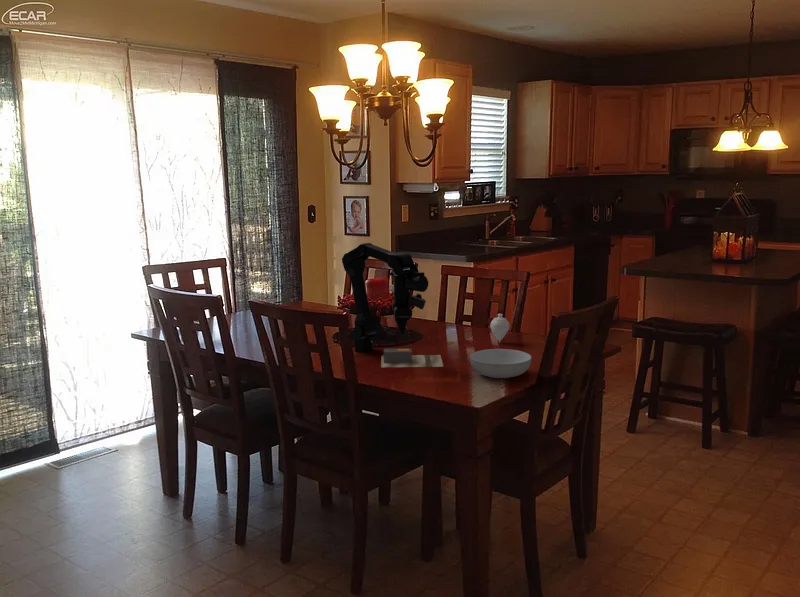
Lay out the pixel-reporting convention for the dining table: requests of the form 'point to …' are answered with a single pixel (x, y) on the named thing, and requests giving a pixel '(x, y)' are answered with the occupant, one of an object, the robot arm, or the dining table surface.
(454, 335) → the dining table surface
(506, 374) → the serving bowl
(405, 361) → the block
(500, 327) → the spinning top
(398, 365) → the board
